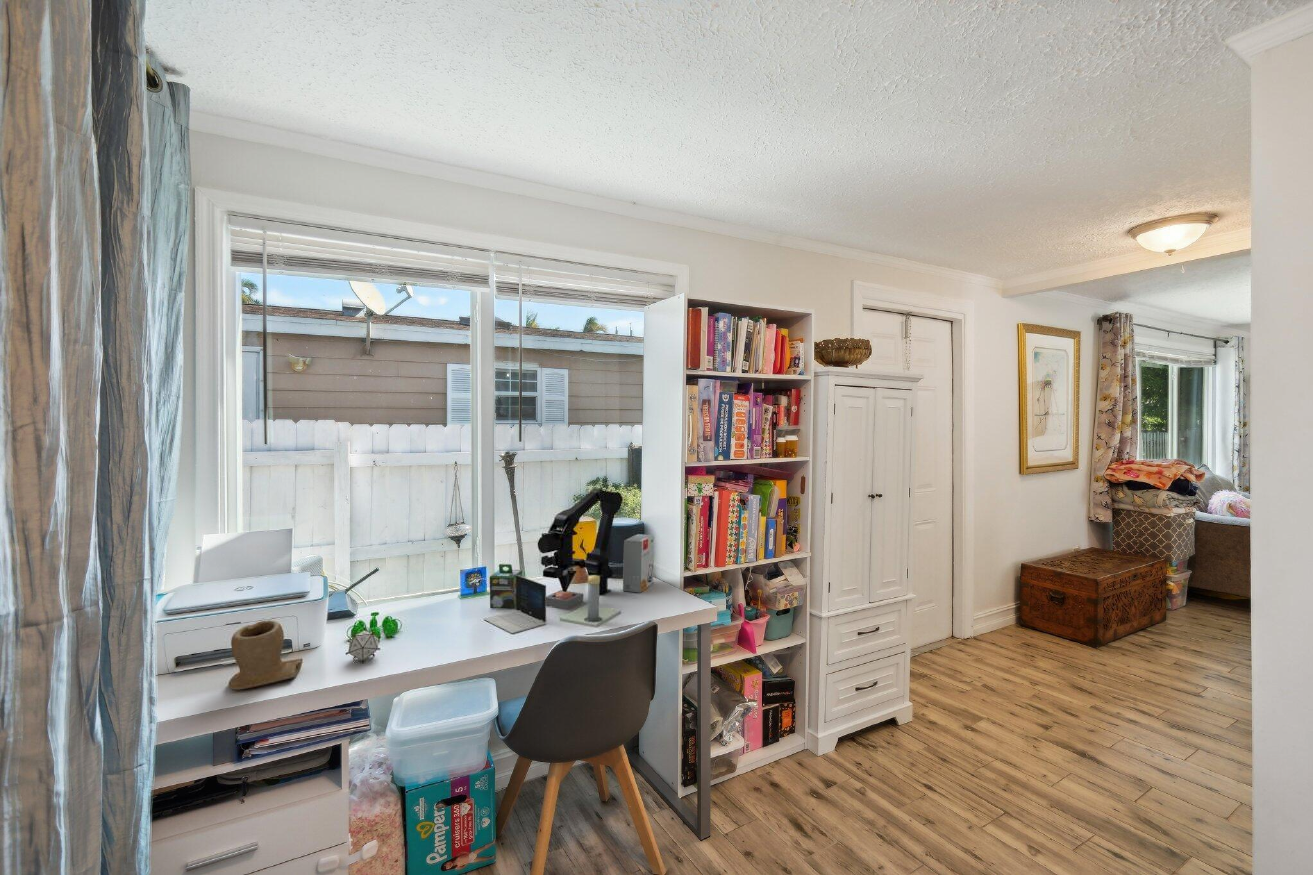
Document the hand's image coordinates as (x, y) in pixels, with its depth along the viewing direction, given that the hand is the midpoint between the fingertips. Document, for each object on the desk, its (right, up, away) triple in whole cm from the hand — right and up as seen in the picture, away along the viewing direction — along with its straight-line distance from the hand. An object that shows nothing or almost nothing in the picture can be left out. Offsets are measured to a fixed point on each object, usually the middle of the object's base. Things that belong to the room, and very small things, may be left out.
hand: (564, 591), depth 204 cm
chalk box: (-21, -5, -1) cm, 21 cm away
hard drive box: (+26, -4, +21) cm, 34 cm away
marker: (+12, -4, -19) cm, 23 cm away
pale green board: (+11, -5, -14) cm, 18 cm away
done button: (0, -3, 0) cm, 3 cm away
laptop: (-13, -5, -20) cm, 24 cm away
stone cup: (-64, -6, -64) cm, 90 cm away
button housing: (0, -4, 0) cm, 4 cm away
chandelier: (-53, -5, -32) cm, 62 cm away
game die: (-47, -5, -50) cm, 68 cm away
